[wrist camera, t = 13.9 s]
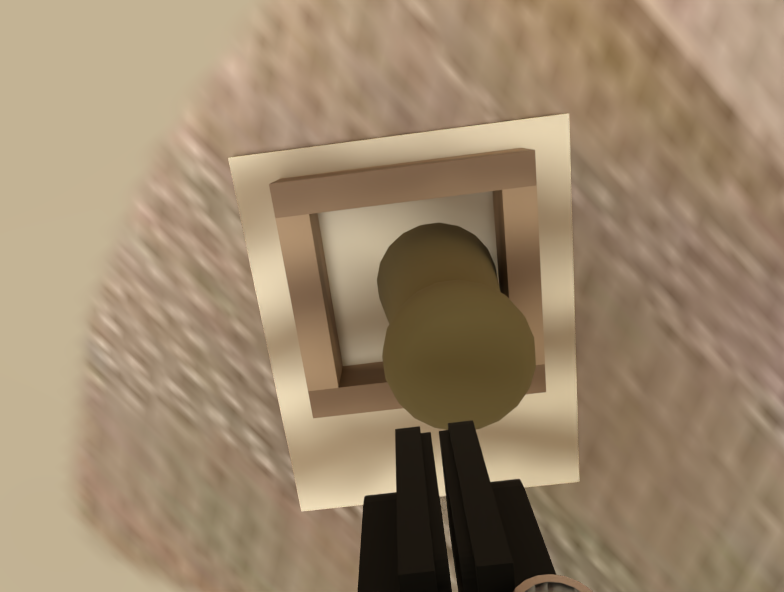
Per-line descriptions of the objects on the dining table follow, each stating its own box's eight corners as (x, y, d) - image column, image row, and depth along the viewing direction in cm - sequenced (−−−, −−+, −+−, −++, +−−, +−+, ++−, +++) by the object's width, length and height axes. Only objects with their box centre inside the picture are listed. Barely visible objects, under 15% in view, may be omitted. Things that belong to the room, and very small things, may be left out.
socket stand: (573, 470, 32) (594, 511, 29) (303, 500, 33) (294, 542, 29) (562, 113, 26) (587, 112, 23) (233, 156, 27) (211, 161, 24)
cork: (454, 197, 26) (496, 246, 16) (519, 296, 28) (596, 399, 17) (352, 267, 27) (329, 355, 17) (420, 358, 29) (437, 491, 18)
